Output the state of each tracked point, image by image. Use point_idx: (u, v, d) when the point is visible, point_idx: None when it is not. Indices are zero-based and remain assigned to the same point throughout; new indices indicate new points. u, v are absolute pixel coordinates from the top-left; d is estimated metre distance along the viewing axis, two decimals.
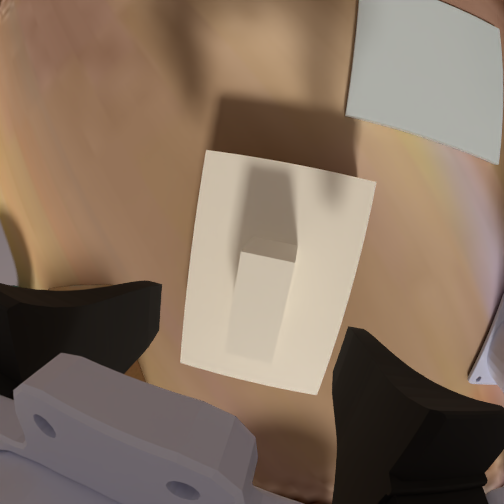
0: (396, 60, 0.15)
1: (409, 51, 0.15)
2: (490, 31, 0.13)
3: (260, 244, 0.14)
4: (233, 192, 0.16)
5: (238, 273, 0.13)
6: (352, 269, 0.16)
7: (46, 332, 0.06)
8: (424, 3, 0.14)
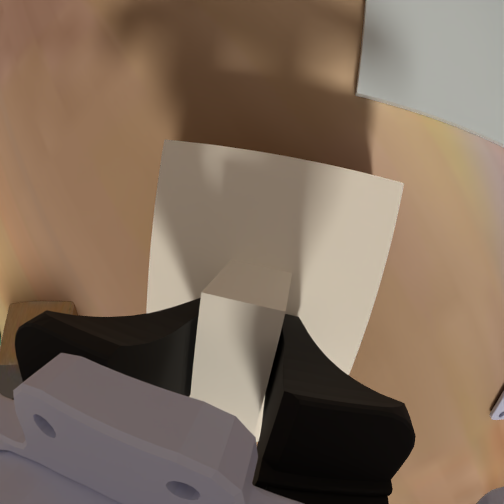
0: (418, 28, 0.11)
1: (433, 19, 0.10)
2: None
3: (236, 275, 0.10)
4: (201, 197, 0.11)
5: (199, 323, 0.08)
6: (368, 305, 0.11)
7: (139, 372, 0.05)
8: None
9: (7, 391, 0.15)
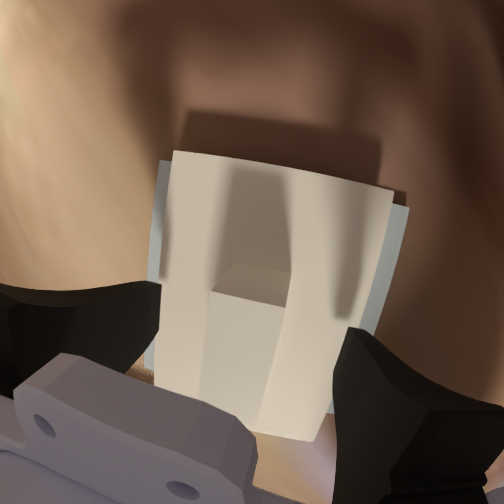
0: None
1: None
2: None
3: (240, 275, 0.11)
4: (207, 204, 0.12)
5: (208, 319, 0.09)
6: (361, 303, 0.12)
7: (46, 332, 0.06)
8: None
9: None
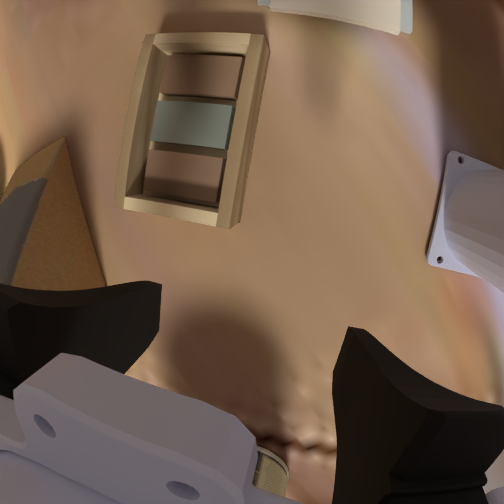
0: None
1: None
2: None
3: None
4: None
5: None
6: None
7: (46, 332, 0.06)
8: None
9: None
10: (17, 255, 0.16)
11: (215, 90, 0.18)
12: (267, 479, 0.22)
